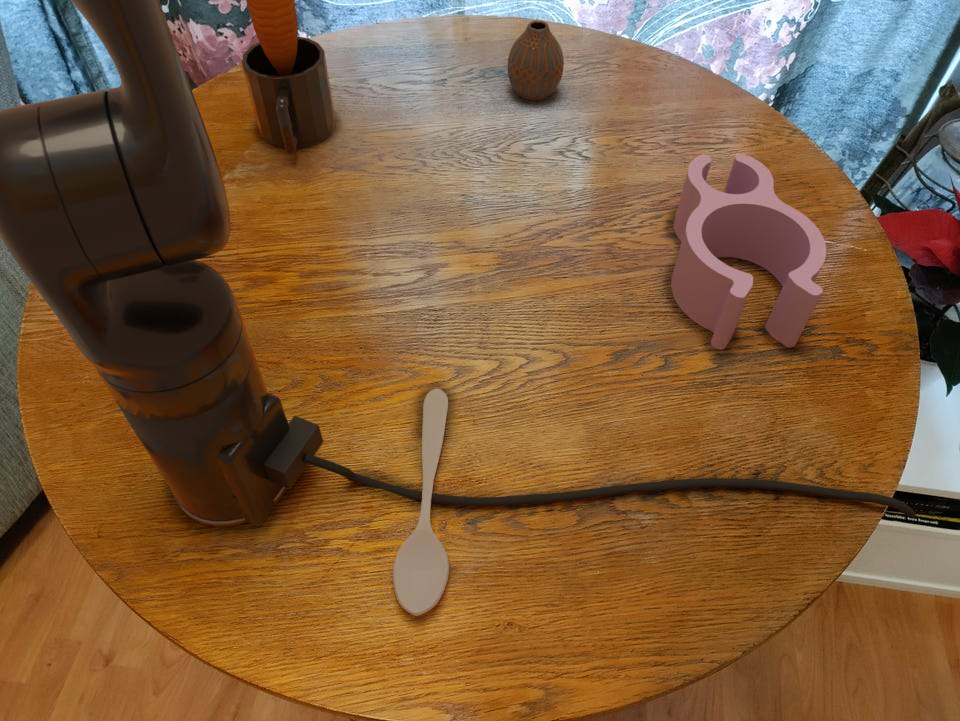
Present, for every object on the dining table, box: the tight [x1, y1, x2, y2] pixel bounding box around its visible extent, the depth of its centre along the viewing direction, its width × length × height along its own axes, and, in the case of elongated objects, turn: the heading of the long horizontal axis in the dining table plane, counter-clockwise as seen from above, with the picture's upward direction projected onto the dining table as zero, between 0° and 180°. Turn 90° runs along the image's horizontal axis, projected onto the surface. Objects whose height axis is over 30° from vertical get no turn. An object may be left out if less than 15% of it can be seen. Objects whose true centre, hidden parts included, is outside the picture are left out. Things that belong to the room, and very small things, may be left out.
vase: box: [507, 19, 565, 101], centre depth 94 cm, size 7×7×9 cm
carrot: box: [245, 0, 299, 76], centre depth 81 cm, size 5×5×15 cm
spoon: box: [392, 388, 450, 617], centre depth 60 cm, size 4×21×2 cm, turn 178°
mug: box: [241, 36, 336, 154], centre depth 87 cm, size 13×9×9 cm
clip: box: [670, 153, 827, 351], centre depth 74 cm, size 20×12×7 cm, turn 3°
